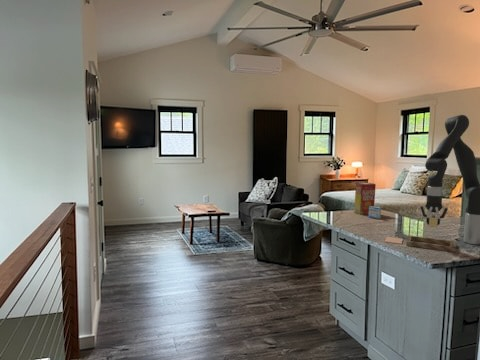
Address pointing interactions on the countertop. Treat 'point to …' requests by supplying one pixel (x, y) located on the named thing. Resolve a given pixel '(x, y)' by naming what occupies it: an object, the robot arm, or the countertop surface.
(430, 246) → the open wooden frame
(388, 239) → the mat
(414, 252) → the countertop surface
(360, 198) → the food packaging
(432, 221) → the lever cap
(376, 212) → the medicine box
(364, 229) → the countertop surface
